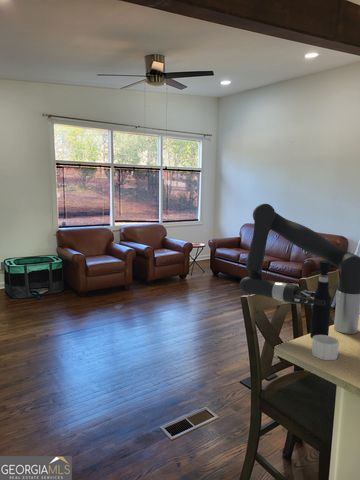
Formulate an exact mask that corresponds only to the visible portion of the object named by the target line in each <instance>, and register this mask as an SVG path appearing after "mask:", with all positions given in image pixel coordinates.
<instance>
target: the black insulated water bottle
mask: <svg viewBox="0 0 360 480" xmlns="http://www.w3.org/2000/svg"><path fill="white" fill-rule="evenodd" d="M330 269H331V263H330V262H329V261H327V260H319V262H318V270H319V271H320V273H319V277H318V281H317V288H316V290H315V291H316V292H315V295H314V298H316V299H321V300H325V306H319V305H315V304H314V305H311V306H312V307H311V308H312V309H311V319H310V321H311V322H310V332H309V333H310V336H309V337H310V338H311V339H313V336H315V335H327V336H329V334H330V332H329V329H330V320H331V319H330V318H331V307H332V306H331V305H332V301H331V299H330V296H331V295H330V292H329V286H330V285H329V284H330V283H329V277H328V276H329V275H328V272H330V271H331V270H330Z"/></svg>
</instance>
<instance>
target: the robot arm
mask: <svg viewBox="0 0 360 480" xmlns="http://www.w3.org/2000/svg"><path fill="white" fill-rule="evenodd" d="M252 218H253V221H254V222H253V223H254V224H253V225H254V226H253V233H252V234H253V235H252V239H251V243H250V246H249V250H248V254H247V259H246V264H245V265H246V266H245V268H246V270H247V271H248V276H246V277H242V278H241V280H240V282H239V288H240V290H241V291H242V292H243V293H245V294H249V295H256V296H262V297H266V298H269V299H273V300H274V299H275V300H277V301H280V302H284V303H288V304H293V305H296V304H300V305H304V306H313V305H314V304H315V305H319V306H325V300H321V299H316V298H314V295H315V292H316V290H312V289H307V290H306V289H305V290H301V287H300V286H299V285H297V284H292V283H288V282H287V283H286V282H280V281H274V280H264V279H263V266H264V260H265V254H266V249H267V241H268V238H269V233H270V231H273V232H274V233H277V234H278V235H279V236H281V237H282V238H284V239H285V240H286V241H288V242H290V243H291V244H293V245H295V246H296V247H298V248H299V249H301V250H303V251H304V252H307V253H308V254H311V255H313V256H315V257H319V258H321V259H323V260H324V261H329V262H330V265H333V266H335V267H336V268H337V269H338V270H339V271H340V277H339V282H338V284H337V289H336V298H335V299H336V301H335V312H334V323H333V329H334V330H335V331H337V332H339V333H342V334H348V335H355V334H357V333H358V330H359V319H360V256H358V255H357V254H355V253H352V252H350V251H347V250H345V249H342V248H341V247H338V246H336V245H335V244H333V243H332V242H330V241H329V240H328V239H326V238H325V237H323V236H322V235H321V234H319V233H318V232H316V231H315V230H313V229H311V228H309V227H307V226H305V225H303V224H301V223H299V222H295V221H292V220H290V219H288V218H286V217H283V216H282V215H280V214H279V213H278V212H276V210H275V209H274V207H273V206H272V205H271V204H269V203H260V204H258V205H257V206H256V207H255V208H254V209H253V213H252ZM330 299H331V302H332V300H333V297H332V296H331V295H330Z"/></svg>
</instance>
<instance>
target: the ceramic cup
mask: <svg viewBox="0 0 360 480" xmlns="http://www.w3.org/2000/svg"><path fill="white" fill-rule="evenodd" d="M311 339H312V338H311ZM339 344H340V341H339V340H338V339H337V338H336V337H333V336H330V335H328V336H327V335H315V336H313V339H312V341H311V353H312V356H314V357H315V358H317V359H320V360H323V361H335V360H337V359H338V356H339V346H340V345H339Z"/></svg>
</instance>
